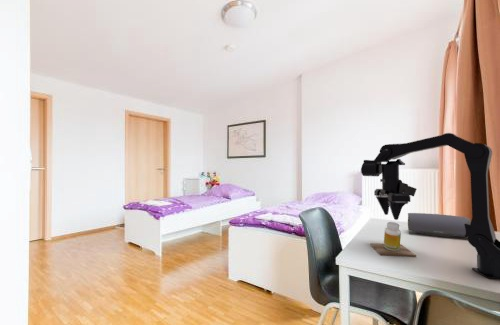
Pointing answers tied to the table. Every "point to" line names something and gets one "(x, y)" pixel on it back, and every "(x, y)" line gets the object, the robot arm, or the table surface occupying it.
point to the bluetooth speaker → (437, 224)
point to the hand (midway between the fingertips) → (390, 217)
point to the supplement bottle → (392, 236)
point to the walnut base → (385, 252)
